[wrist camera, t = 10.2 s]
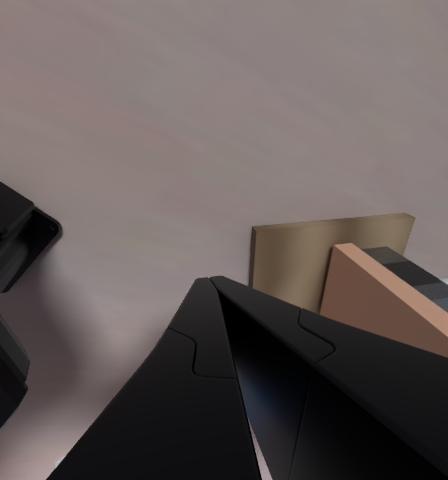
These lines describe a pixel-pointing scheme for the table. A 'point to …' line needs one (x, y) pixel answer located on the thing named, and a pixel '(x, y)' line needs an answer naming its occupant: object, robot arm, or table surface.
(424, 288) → the charcoal metal brick
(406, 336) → the salmon pink upright block
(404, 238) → the tan board
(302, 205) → the table surface
